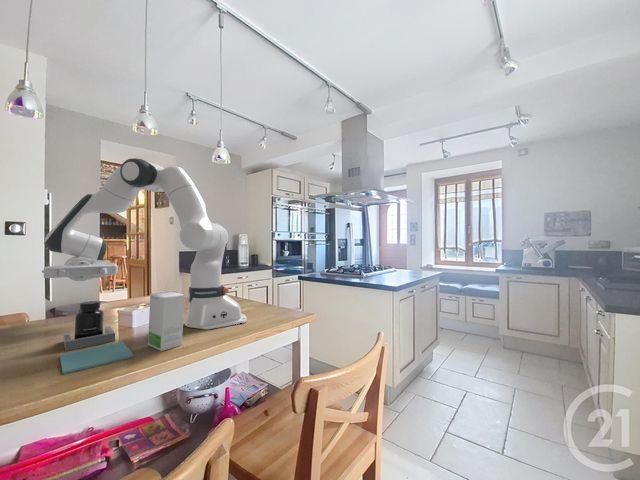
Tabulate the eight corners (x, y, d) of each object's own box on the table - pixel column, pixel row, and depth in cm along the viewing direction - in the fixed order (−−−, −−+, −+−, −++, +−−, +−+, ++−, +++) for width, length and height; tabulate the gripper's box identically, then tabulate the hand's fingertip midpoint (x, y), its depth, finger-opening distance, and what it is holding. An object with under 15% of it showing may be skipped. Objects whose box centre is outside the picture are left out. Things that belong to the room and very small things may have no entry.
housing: (63, 341, 85) (63, 333, 85) (109, 333, 93) (109, 325, 93) (65, 350, 78) (65, 342, 78) (114, 340, 86) (115, 332, 86)
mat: (59, 356, 74) (59, 354, 74) (122, 343, 84) (122, 341, 84) (62, 374, 64) (62, 371, 64) (133, 357, 74) (133, 354, 74)
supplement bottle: (86, 345, 82) (87, 305, 82) (68, 344, 83) (69, 304, 83) (108, 338, 88) (109, 300, 89) (91, 336, 90) (92, 299, 90)
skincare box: (147, 345, 82) (148, 293, 82) (169, 339, 88) (170, 290, 88) (161, 352, 78) (162, 296, 78) (184, 344, 83) (185, 293, 83)
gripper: (42, 261, 97) (42, 264, 87) (113, 260, 111) (120, 262, 102) (41, 279, 97) (41, 284, 87) (113, 275, 111) (120, 279, 102)
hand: (85, 272), depth 94 cm, fingers open, 8 cm apart
